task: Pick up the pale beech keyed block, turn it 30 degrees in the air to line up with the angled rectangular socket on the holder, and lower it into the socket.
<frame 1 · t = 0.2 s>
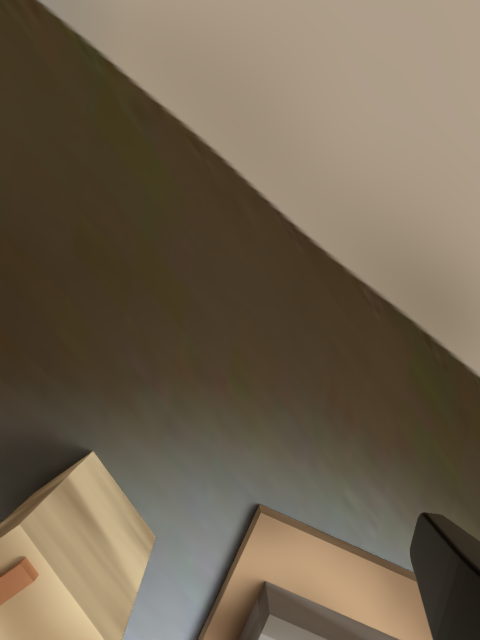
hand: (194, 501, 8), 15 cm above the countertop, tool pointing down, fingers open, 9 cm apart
keyed block: (95, 515, 23), on the countertop
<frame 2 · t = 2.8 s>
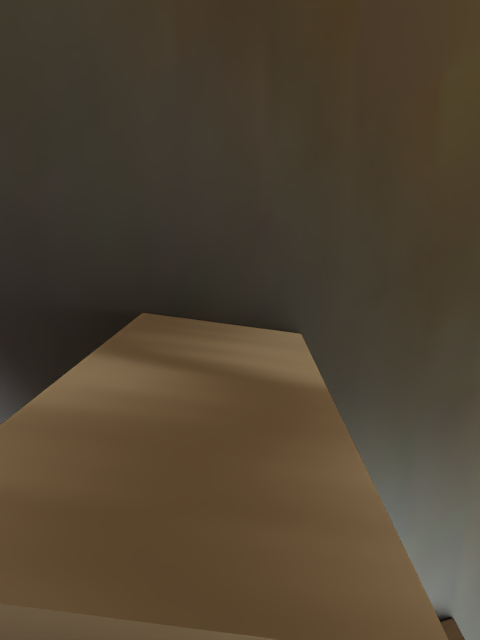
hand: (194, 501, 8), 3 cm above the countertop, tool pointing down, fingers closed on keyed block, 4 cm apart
keyed block: (208, 431, 11), on the countertop, touching gripper
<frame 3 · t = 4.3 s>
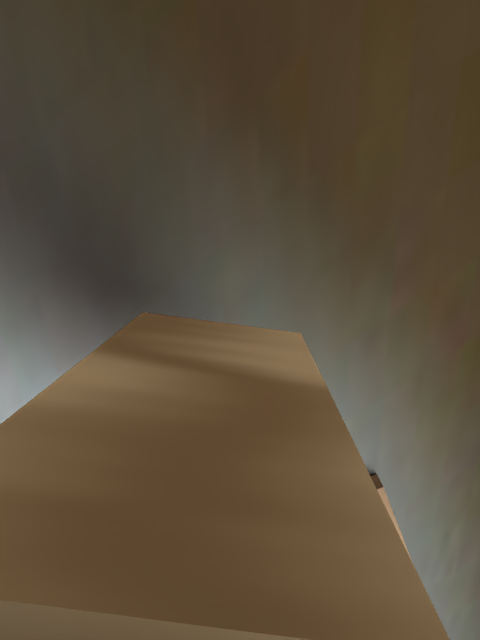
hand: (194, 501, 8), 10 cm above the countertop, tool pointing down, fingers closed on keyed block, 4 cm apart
holder: (286, 623, 21), on the countertop
keyed block: (208, 431, 11), point 7 cm above the countertop, touching gripper
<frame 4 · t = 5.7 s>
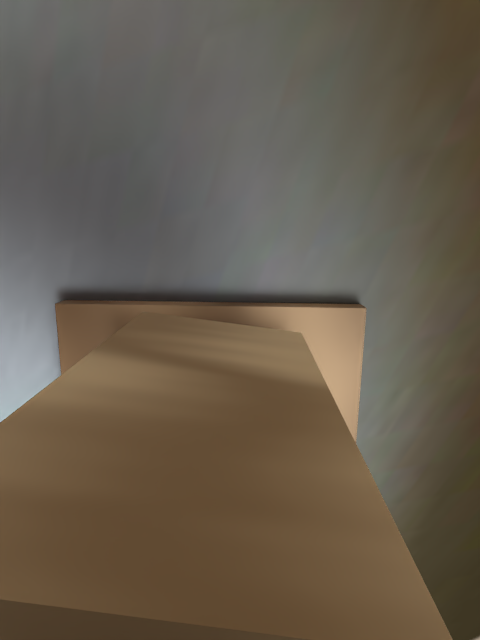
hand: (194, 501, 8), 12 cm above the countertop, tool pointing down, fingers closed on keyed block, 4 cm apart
holder: (212, 428, 21), on the countertop
keyed block: (208, 430, 11), point 9 cm above the countertop, touching gripper
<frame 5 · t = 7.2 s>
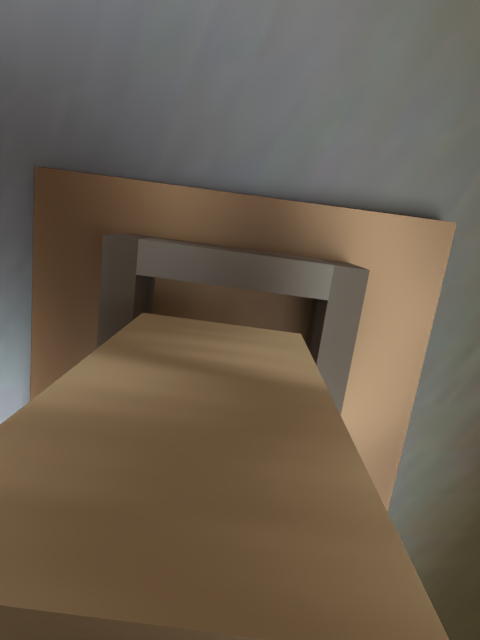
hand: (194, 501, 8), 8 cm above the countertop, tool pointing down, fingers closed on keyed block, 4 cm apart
holder: (224, 370, 16), on the countertop
keyed block: (208, 431, 11), point 5 cm above the countertop, touching gripper
when the fingers open (5 cm above the countertop, at t = 8.6 s): keyed block stays where it is, resting on holder.
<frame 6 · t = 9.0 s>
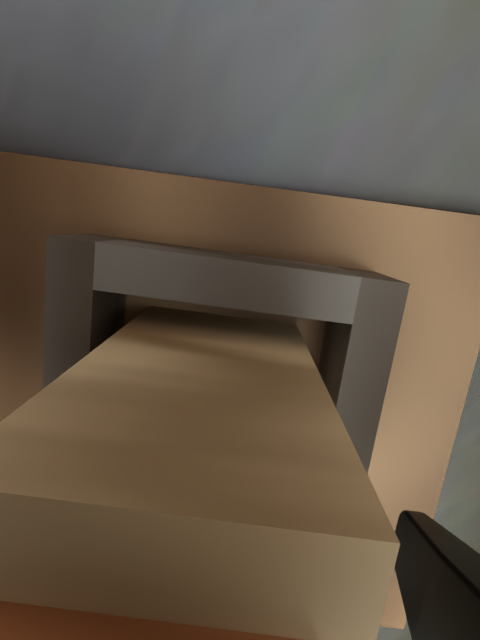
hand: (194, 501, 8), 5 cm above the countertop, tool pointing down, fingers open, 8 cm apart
holder: (215, 403, 13), on the countertop
keyed block: (211, 415, 12), point 1 cm above the countertop, touching holder
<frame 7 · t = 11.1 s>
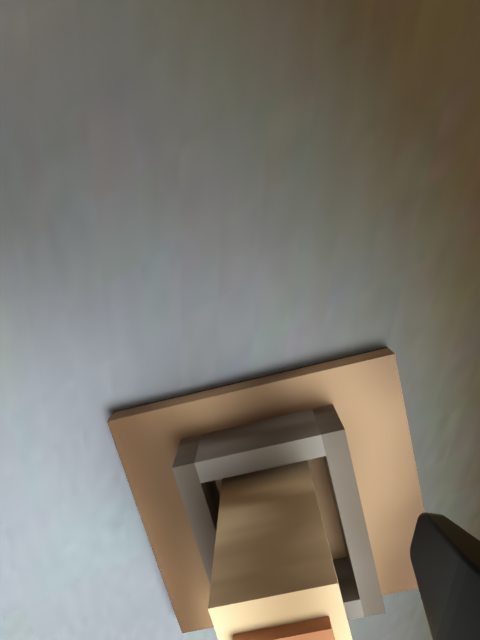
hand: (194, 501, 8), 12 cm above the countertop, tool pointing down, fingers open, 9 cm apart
holder: (277, 493, 22), on the countertop
keyed block: (277, 505, 21), point 1 cm above the countertop, touching holder
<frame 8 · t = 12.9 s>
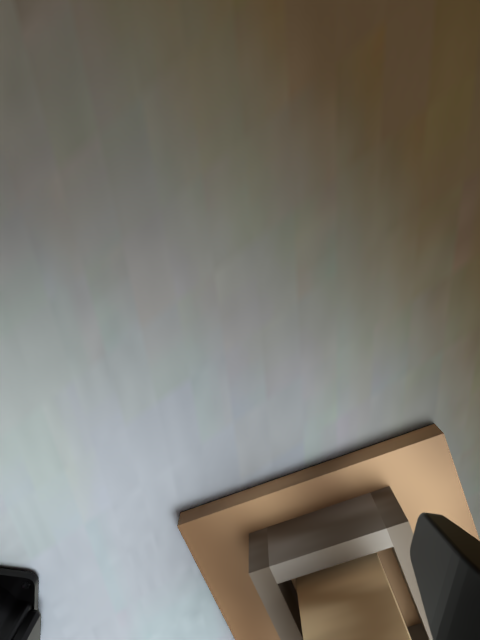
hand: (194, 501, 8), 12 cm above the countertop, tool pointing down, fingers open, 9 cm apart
holder: (344, 568, 23), on the countertop
keyed block: (347, 583, 22), point 1 cm above the countertop, touching holder
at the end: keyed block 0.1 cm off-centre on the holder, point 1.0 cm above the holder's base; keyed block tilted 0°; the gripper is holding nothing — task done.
